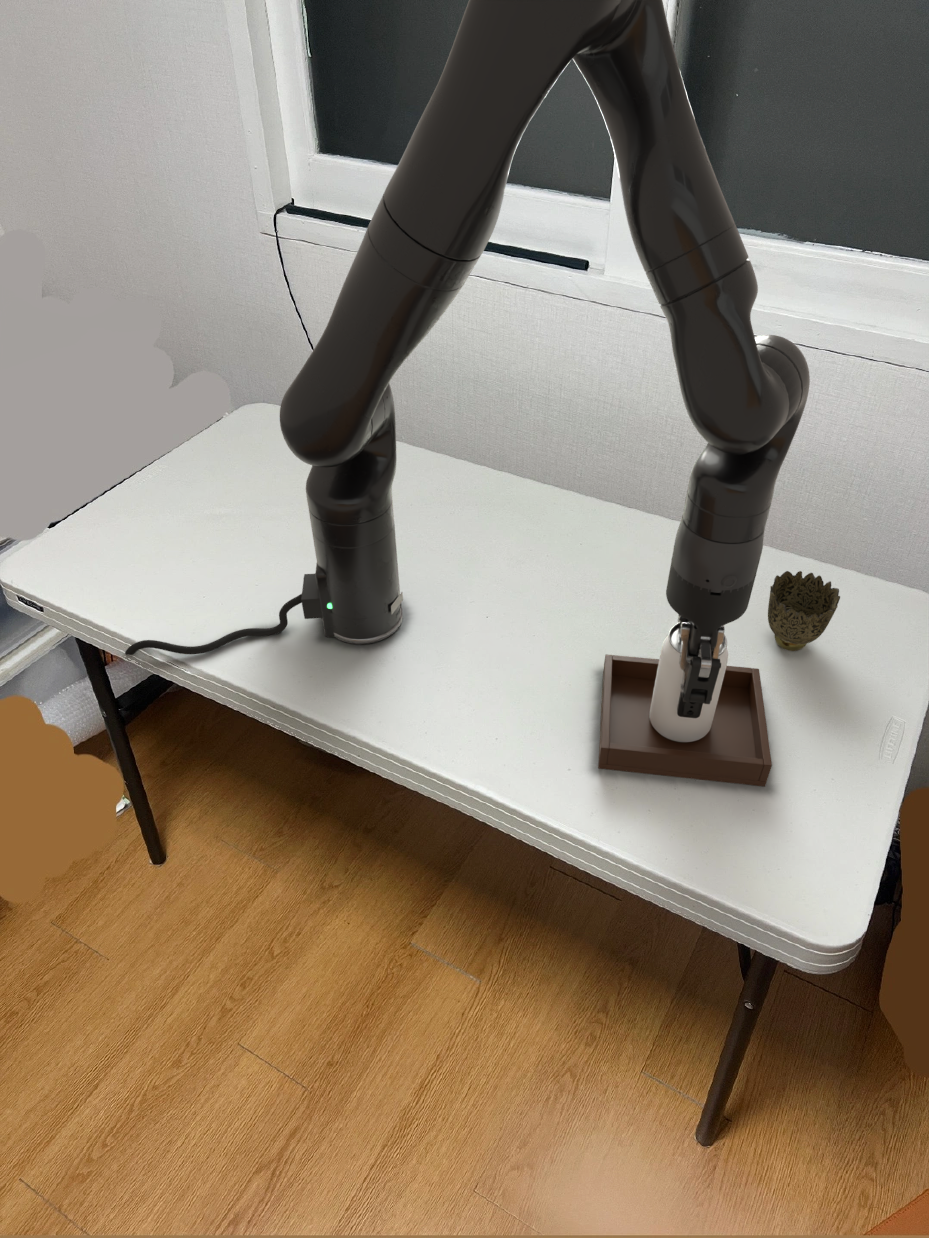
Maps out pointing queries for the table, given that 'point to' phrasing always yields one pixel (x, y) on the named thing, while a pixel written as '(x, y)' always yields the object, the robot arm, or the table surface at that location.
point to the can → (669, 693)
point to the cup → (800, 609)
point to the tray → (719, 756)
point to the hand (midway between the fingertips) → (686, 689)
